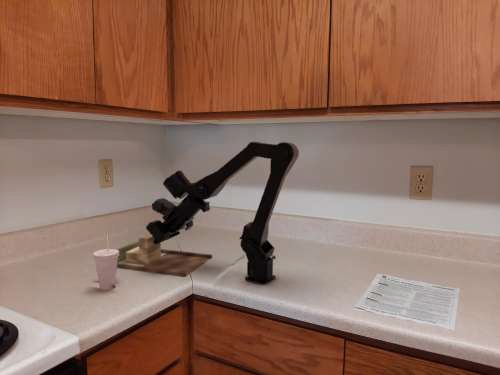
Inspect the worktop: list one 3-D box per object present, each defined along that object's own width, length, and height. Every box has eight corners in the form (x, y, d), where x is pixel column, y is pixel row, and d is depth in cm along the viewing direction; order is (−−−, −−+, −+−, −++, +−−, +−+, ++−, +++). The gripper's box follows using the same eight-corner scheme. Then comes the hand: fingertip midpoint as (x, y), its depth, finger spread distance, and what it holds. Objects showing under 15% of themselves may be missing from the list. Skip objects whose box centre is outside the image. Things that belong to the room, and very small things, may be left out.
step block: (160, 257, 116) (160, 233, 115) (148, 264, 110) (147, 238, 109) (139, 255, 119) (138, 231, 118) (125, 261, 112) (124, 236, 111)
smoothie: (124, 288, 96) (122, 236, 94) (100, 295, 91) (97, 240, 90) (114, 281, 100) (112, 231, 98) (90, 287, 96) (88, 235, 94)
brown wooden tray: (212, 262, 117) (212, 245, 116) (184, 282, 100) (184, 262, 99) (143, 254, 125) (142, 238, 124) (107, 271, 108) (106, 253, 107)
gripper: (184, 186, 117) (155, 217, 122) (151, 194, 100) (119, 230, 105) (206, 212, 116) (176, 242, 121) (176, 224, 98) (143, 259, 103)
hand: (154, 243), depth 112 cm, fingers closed
